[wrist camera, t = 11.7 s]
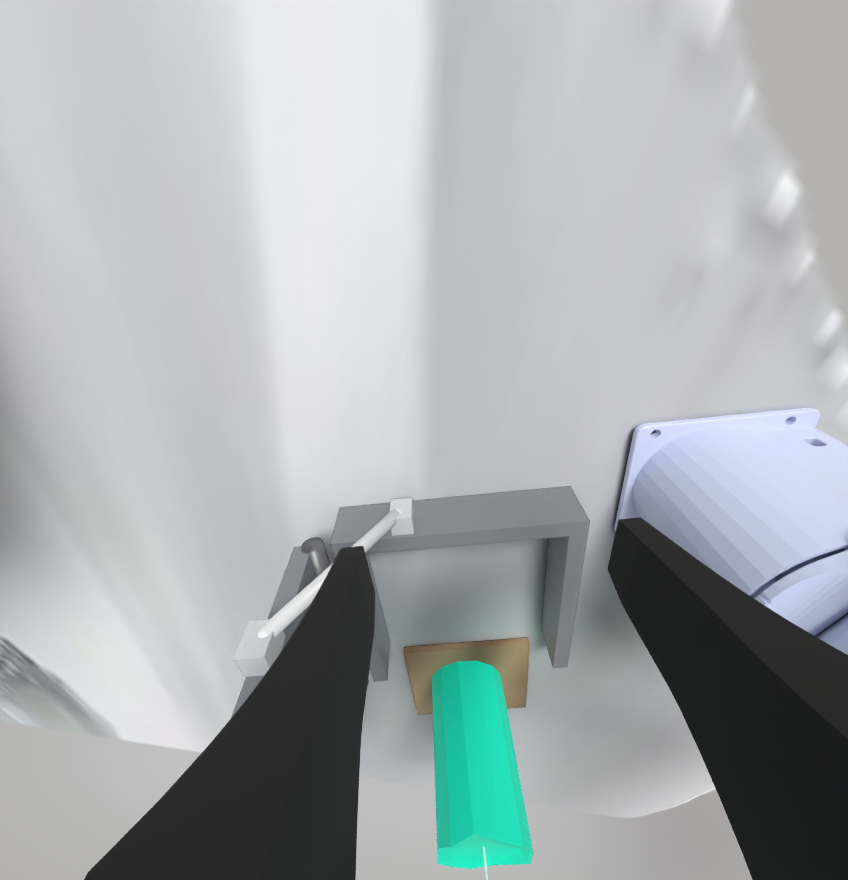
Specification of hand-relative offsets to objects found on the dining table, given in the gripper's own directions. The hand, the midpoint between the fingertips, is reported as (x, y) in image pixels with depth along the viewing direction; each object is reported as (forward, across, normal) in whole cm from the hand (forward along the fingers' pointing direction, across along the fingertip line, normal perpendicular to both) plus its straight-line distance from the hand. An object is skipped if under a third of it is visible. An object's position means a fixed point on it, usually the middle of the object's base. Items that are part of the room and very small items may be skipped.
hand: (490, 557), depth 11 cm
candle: (+10, +1, +26) cm, 28 cm away
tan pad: (+10, 0, +26) cm, 28 cm away
